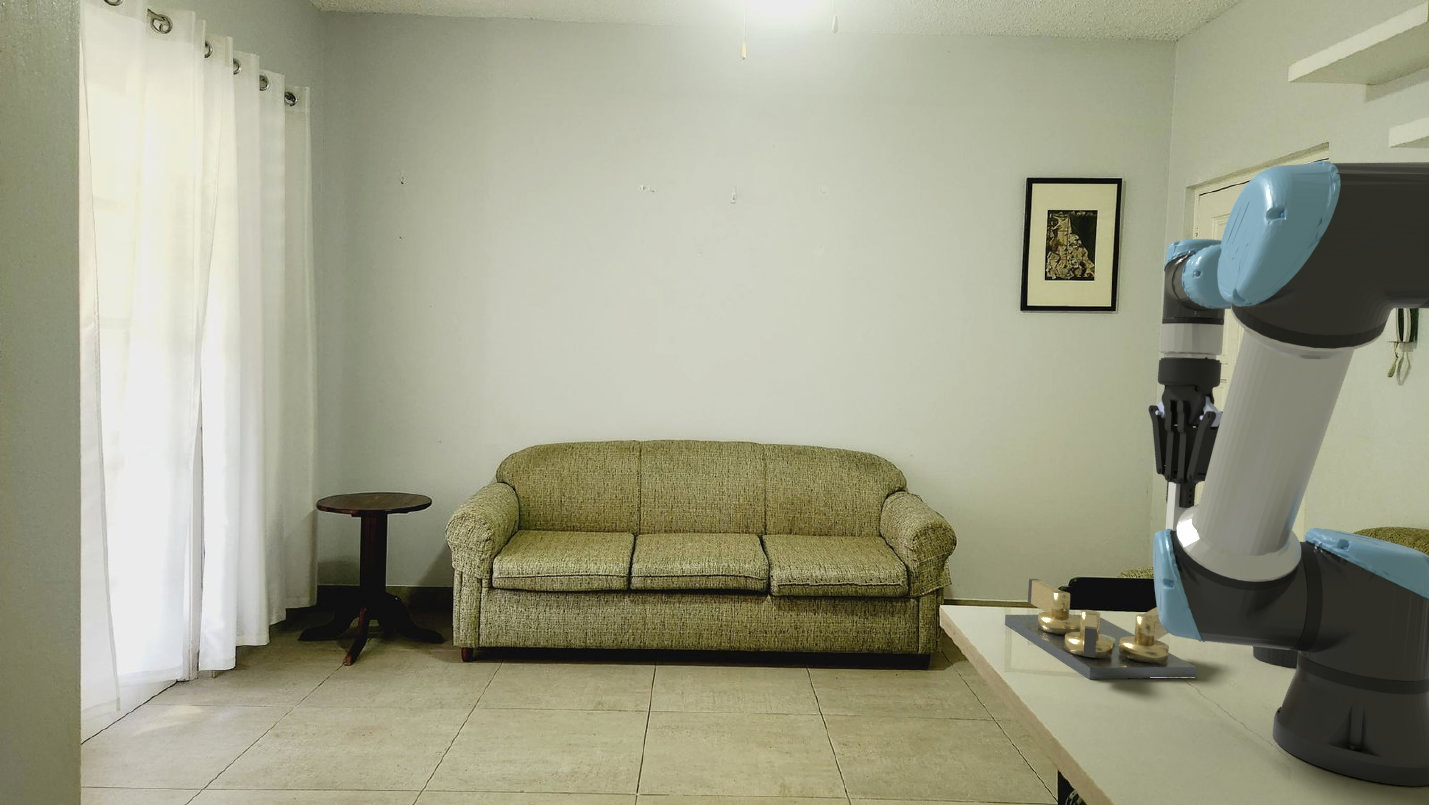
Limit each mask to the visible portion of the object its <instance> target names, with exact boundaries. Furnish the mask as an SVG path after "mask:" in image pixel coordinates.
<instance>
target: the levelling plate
mask: <svg viewBox="0 0 1429 805" xmlns="http://www.w3.org/2000/svg"><path fill="white" fill-rule="evenodd" d="M1073 615H1074V616H1077V617H1079V618H1081V614H1073ZM1004 616H1005V617H1004V625H1005V626H1007V627H1008V628H1010V627H1011V628H1012V630H1013V631H1014V630H1015V633H1017V632H1018V633H1017V634H1019V635H1021V636H1022V637H1024V638H1025V639H1027V640H1028V641H1030V642H1032V643H1033V644H1034V645H1036V646H1037V647H1039V648H1041V649H1042V650H1044V651H1045V652H1047V653H1048V654H1050V655H1052V656H1053V657H1055V658H1056V659H1058V661H1061V662H1062V663H1064V664H1065V665H1067V666H1068V667H1070V668H1071V669H1072V670H1074V671H1076V672H1078V673H1080V674H1081V675H1082V676H1084V677H1085V678H1087V679H1088V680H1132V679H1131V678H1150V677H1196V678H1197V669H1198V667H1197V666H1196V665H1193V664H1192V663H1190V662H1187V661H1186V660H1184V659H1182V658H1179V657H1178V656H1176V655H1175V654H1172V653H1171V652H1169V654H1168V660H1167V661H1165V662H1145V661H1139V660H1135V659H1131V658H1128V657H1126V656H1123V655H1122V654H1120V653H1119V643H1120V638H1122V637H1128V636H1135V633H1132V632H1129V631H1128V630H1125V629H1124V628H1122V627H1120V626H1118V625H1116V624H1114V623H1112V622H1110V621H1108V620H1107V619H1104V618H1102V617H1101V616H1100V624H1099V635H1101V636H1104V637H1107V638H1109V639H1111V640H1112V641H1113V649H1112V655H1111V656H1110V657H1104V658H1094V657H1087V656H1082V655H1078V654H1074V653H1072V652H1069V651H1068V650H1066V649H1065V647H1064V646H1065V635H1066V634H1058V633H1052V632H1048V631H1045V630H1042V629H1040V628H1039V627H1038V614H1005V615H1004ZM1011 628H1010V629H1011ZM1128 678H1130V679H1128Z"/></svg>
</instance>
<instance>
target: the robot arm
mask: <svg viewBox="0 0 1429 805" xmlns="http://www.w3.org/2000/svg"><path fill="white" fill-rule="evenodd" d="M1232 206H1233V207H1232V209H1231V211H1230V213H1229V216H1228V219H1227V220H1226V224H1225V228H1224V231H1223V235H1222V238H1221V240H1220V239H1214V238H1213V239H1212V238H1211V239H1209V238H1196V239H1195V238H1194V239H1182V240H1181V241H1180V240H1176V241H1173V242H1172V243H1171V244H1169V246H1168V248H1167V251H1166V259H1165V264H1164V265H1163V271H1164V280H1163V281H1164V282H1163V283H1164V284H1163V285H1164V286H1163V300H1162V301H1163V304H1162V317H1161V319H1162V320H1161V325H1160V335H1159V338H1160V339H1159V349H1158V350H1159V353H1160V354H1163V357H1161V358H1160V359H1158V368H1157V369H1158V370H1157V382H1158V384H1160V385H1161V386H1164V389H1163V392H1162V394H1161V401H1160V402H1159V403H1158V404H1154V405H1153V404H1152V405H1149V406H1148V413H1149V417H1150V420H1151V422H1152V434H1153V446H1154V448H1153V449H1154V458H1155V467H1156V468H1155V469H1156V473H1157V474H1158V475H1161V476H1163V477H1164V479H1165V481H1166V496H1165V500H1166V514H1165V515H1166V518H1165V520H1166V521H1165V529H1161V530H1158V531H1157V532H1155V534H1154V536H1153V540H1152V541H1153V543H1152V566H1153V567H1152V568H1153V582H1154V592H1155V601H1156V607H1157V610H1158V615H1159V619H1160V622H1161V624H1162V626H1163V628H1164V629H1165V630H1166V631H1167V632H1168V634H1170V635H1172V636H1174V637H1178V638H1184V639H1190V640H1195V641H1198V642H1203V643H1205V642H1211V643H1219V644H1220V643H1221V644H1230V645H1237V646H1238V645H1239V646H1247V647H1253V646H1256V647H1266V648H1276V649H1285V650H1295V651H1298V658H1297V668H1295V673H1294V674H1293V677H1292V679H1291V681H1290V684H1289V686H1288V689H1287V691H1286V694H1285V696H1284V699H1283V702H1282V705H1281V706H1280V707H1278V708H1277V709H1276V712H1275V713H1274V717H1273V726H1272V738H1273V740H1274V741H1275V743H1276V744H1277V745H1278V746H1279V747H1280V748H1282V749H1283V750H1285V751H1286V752H1288V753H1289V754H1291V755H1293V756H1295V757H1296V758H1299V759H1300V760H1303V761H1305V762H1307V763H1308V764H1312V765H1314V766H1317V767H1319V768H1322V769H1325V770H1328V771H1331V772H1334V773H1338V774H1341V775H1345V776H1349V777H1353V778H1355V779H1361V780H1365V781H1371V782H1376V783H1380V784H1381V783H1382V784H1388V785H1389V784H1390V785H1396V786H1410V787H1411V786H1413V787H1414V786H1415V787H1417V786H1422V787H1423V786H1429V555H1428V554H1426V553H1425V552H1422V551H1420V550H1418V549H1414V548H1411V547H1409V546H1406V545H1402V544H1398V543H1394V542H1391V541H1387V540H1384V539H1379V538H1374V537H1370V536H1366V535H1362V534H1357V533H1352V532H1347V531H1341V530H1335V529H1331V528H1330V529H1329V528H1321V527H1320V528H1319V527H1312V528H1309V529H1308V530H1307V532H1306V534H1305V535H1304V541H1300V540H1299V538H1298V536H1297V535H1296V533H1295V532H1294V531H1293V528H1294V524H1295V521H1296V519H1297V516H1298V513H1299V510H1300V507H1301V505H1302V502H1303V499H1304V496H1305V493H1306V490H1307V487H1308V485H1309V482H1310V479H1311V476H1312V473H1313V471H1314V466H1315V464H1316V462H1317V458H1318V456H1319V453H1320V450H1321V448H1322V445H1323V441H1324V439H1325V436H1326V432H1327V430H1328V427H1329V424H1330V421H1331V418H1332V415H1333V413H1334V410H1335V407H1336V404H1337V401H1338V398H1339V395H1340V393H1341V389H1342V387H1343V384H1344V381H1345V378H1346V376H1347V372H1348V370H1349V367H1350V364H1351V361H1352V358H1353V355H1354V353H1355V350H1357V349H1360V348H1364V347H1366V346H1369V345H1371V344H1372V343H1374V342H1376V341H1377V340H1378V339H1380V337H1381V336H1382V335H1383V333H1384V331H1385V328H1386V325H1387V322H1388V321H1389V317H1390V314H1391V312H1392V311H1393V310H1394V309H1429V161H1425V162H1424V161H1423V162H1422V161H1420V162H1418V161H1417V162H1331V161H1328V160H1327V161H1326V160H1318V161H1311V162H1309V163H1303V164H1287V165H1285V164H1284V165H1275V166H1271V167H1268V168H1266V169H1264V170H1262V171H1260V172H1258V173H1257V174H1256V175H1255V176H1254V177H1253V178H1251V179H1250V181H1248V182H1247V184H1246V185H1245V186H1244V187H1243V189H1242V191H1241V192H1240V193H1239V195H1238V197H1237V198H1236V200H1235V202H1234V204H1233V205H1232ZM1226 310H1231V314H1232V317H1233V318H1234V320H1235V321H1236V323H1237V324H1239V325H1240V326H1241V327H1242V328H1243V333H1242V338H1241V341H1240V345H1239V349H1238V353H1237V355H1236V360H1235V363H1234V366H1233V372H1232V376H1231V379H1230V384H1229V387H1228V390H1227V394H1226V398H1225V402H1224V406H1223V410H1222V411H1220V410H1219V409H1218V408H1217V407H1216V406H1215V397H1214V388H1217V387H1219V386H1220V385H1221V377H1222V376H1221V374H1222V361H1221V360H1220V359H1217V356H1221V355H1222V354H1223V343H1224V342H1223V340H1224V329H1225V328H1224V326H1225V315H1226ZM1201 482H1203V487H1202V491H1201V494H1200V498H1199V503H1197V504H1195V502H1196V501H1195V500H1196V487H1197V485H1198V484H1199V483H1201Z"/></svg>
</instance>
